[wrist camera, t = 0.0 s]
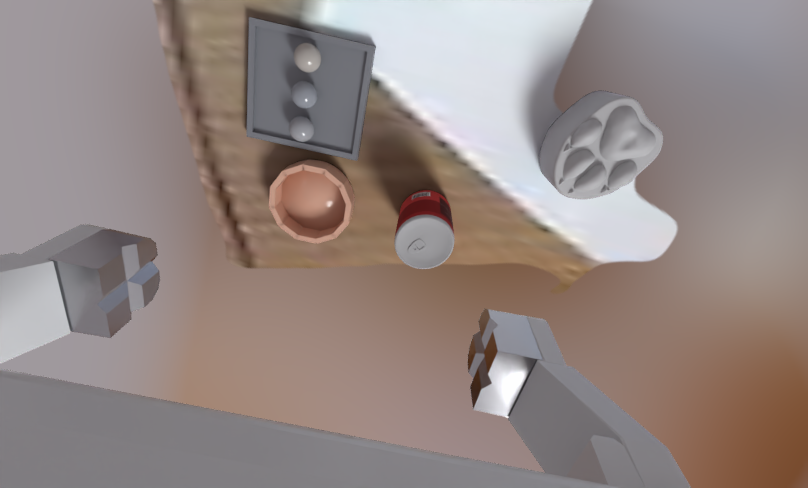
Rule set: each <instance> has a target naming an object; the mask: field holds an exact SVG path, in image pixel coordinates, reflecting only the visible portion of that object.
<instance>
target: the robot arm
mask: <svg viewBox="0 0 808 488" xmlns="http://www.w3.org/2000/svg"><path fill="white" fill-rule="evenodd" d="M157 255H158V254H157V248H156V243H155V242H154V241H153V240H152V239H151V238H147V237H142V236H138V235H133V234H129V233H125V232H121V231H116V230H112V229H107V228H103V227H98V226H93V225H79V226H77V227H75V228H73V229H71V230H69V231H67V232H65V233H63V234H61V235H59V236H57V237H55V238H53V239H51V240H49V241H47V242H45V243H43V244H41V245H39V246H37V247H35V248H33V249H31V250H29V251H27V252H25V253H23V254H16V253H10V254H5V255H0V363H3V362H5V361H7V360H10V359H12V358H14V357H17V356H19V355H21V354H24V353H26V352H28V351H30V350H33V349H35V348H38V347H40V346H42V345H45V344H47V343H49V342H51V341H54V340H56V339H58V338H61V337H63V336H65V335H68V334H70V333H71V332H70V331H72V332H78V333H84V334H90V335H96V336H101V337H107V338H111V337H112V336H113V335H114V334H115V333H117V332H118V331H119V330H120V329H121V328H122V327H123V326H124V325H125V324H127V323H128V322H129V321H130V320H131V312H133V311H136V310H138V309H141V308H144V307H145V306H146V305H148V304H149V302H151V301H152V300H153V298H154V296H155V294H156V292H157V290H158V288H159V282H160V275H159V270H158V269H157V267H156V266H155V265H154V264H153V262H152V261H153V260H154V259H155V257H156V256H157ZM479 327H480V331H479V332H478V333H476V334H475V335H473V338H472V341H471V344H470V348H469V353H468V372H469V374H470V375H471V376H472V377H473V381H472V384H471V386H470V389H471V397H472V404H473V410H477V411H482V412H486V413H491V414H495V415H499V416H504V417H508V420H509V421H510V423H511V424H512V425H513V427H514V428H515V430H516V431H517V433H518V434H519V435H520V437H521V438H522V440H523V441H524V443H525V444H526V446H527V447H528V448H529V450H530V451H531V453H532V454H533V455H534V457H535V458H536V460H537V461H538V463H539V464H540V466H541V467H542V468H543V470H544V471H545V473H543V472H538V471H533V470H528V469H522V468H517V467H512V466H507V465H501V464H496V463H491V462H485V461H480V460H474V459H469V458H464V457H459V456H453V455H447V454H442V453H437V452H432V451H427V450H422V449H417V448H412V447H406V446H401V445H396V444H391V443H386V442H381V441H376V440H370V439H365V438H360V437H355V436H350V435H345V434H340V433H334V432H329V431H324V430H319V429H314V428H309V427H303V426H298V425H293V424H287V423H283V422H277V421H272V420H267V419H262V418H256V417H251V416H245V415H241V414H235V413H230V412H225V411H220V410H214V409H209V408H204V407H199V406H193V405H188V404H183V403H178V402H172V401H167V400H162V399H156V398H152V397H146V396H141V395H136V394H131V393H125V392H120V391H115V390H110V389H104V388H99V387H94V386H89V385H83V384H78V383H73V382H67V381H62V380H57V379H52V378H47V377H42V376H36V375H31V374H26V373H21V372H16V371H11V370H5V369H0V488H691V487H690V485H689V483H688V482H687V480H686V479H685V477H684V475H683V473H682V472H681V470H680V468H679V467H678V465H677V463H676V461H675V460H674V458H673V456H672V455H671V453H670V451H669V450H668V448H667V447H666V446H665V445H663V444H662V443H661V442H660V441H659V440H658V439H656V438H655V437H654V436H653V435H652V434H650V433H649V432H648V431H647V430H646V429H645V428H644V427H642V426H641V425H640V424H639V423H638V422H636V421H635V420H634V419H633V418H632V417H631V416H630V415H628V414H627V413H626V412H625V411H624V410H622V409H621V408H620V407H619V406H618V405H617V404H615V403H614V402H613V401H612V400H611V399H610V398H608V397H607V396H606V395H605V394H604V393H603V392H601V391H600V390H599V389H598V388H597V387H596V386H594V385H593V384H592V383H591V382H590V381H588V380H587V379H586V378H585V377H584V376H583V375H581V374H580V373H579V372H578V371H577V370H576V369H575V368H573V367H570V366H566V363H565V361H564V359H563V356H562V354H561V352H560V350H559V347H558V345H557V343H556V341H555V338H554V336H553V334H552V332H551V329H550V327H549V325H548V322H547V321H545V320H544V319H540V318H534V317H529V316H521V315H516V314H511V313H505V312H500V311H495V310H489V309H484V311H483V312H482V314H481V316H480V319H479Z"/></svg>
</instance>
